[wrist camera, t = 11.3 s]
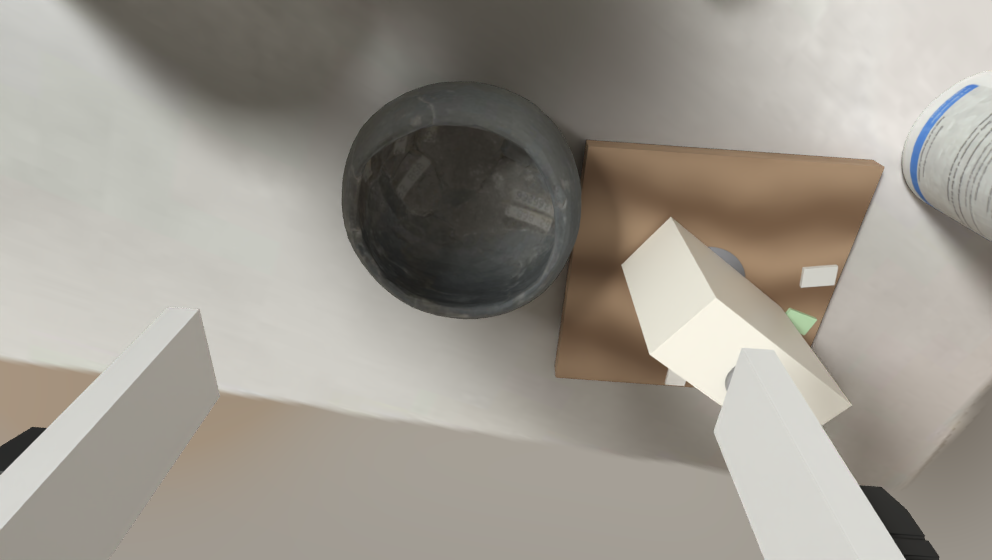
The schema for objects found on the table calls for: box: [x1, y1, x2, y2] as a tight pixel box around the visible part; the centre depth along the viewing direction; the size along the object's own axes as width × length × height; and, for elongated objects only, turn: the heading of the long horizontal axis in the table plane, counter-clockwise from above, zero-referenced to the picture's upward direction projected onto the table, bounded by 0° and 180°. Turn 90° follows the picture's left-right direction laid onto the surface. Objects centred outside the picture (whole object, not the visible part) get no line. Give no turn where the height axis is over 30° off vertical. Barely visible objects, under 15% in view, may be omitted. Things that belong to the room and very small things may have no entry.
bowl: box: [342, 81, 581, 319], centre depth 37 cm, size 15×15×10 cm
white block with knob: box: [621, 217, 852, 426], centre depth 39 cm, size 16×5×12 cm, turn 52°
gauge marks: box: [665, 265, 838, 386], centre depth 45 cm, size 12×10×1 cm
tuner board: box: [555, 140, 884, 387], centre depth 44 cm, size 20×20×2 cm
